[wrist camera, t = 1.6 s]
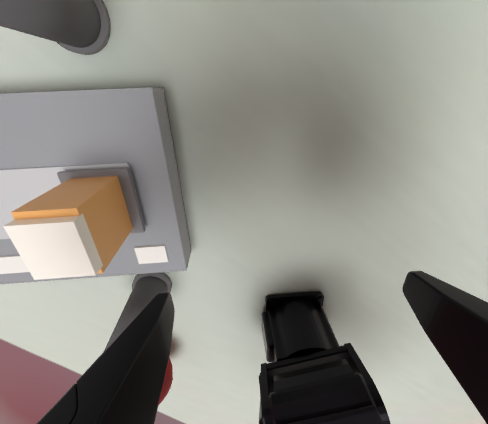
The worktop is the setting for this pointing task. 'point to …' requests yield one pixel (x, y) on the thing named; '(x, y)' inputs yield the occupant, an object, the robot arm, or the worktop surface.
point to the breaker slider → (77, 223)
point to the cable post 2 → (140, 298)
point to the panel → (94, 167)
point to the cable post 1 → (60, 22)
